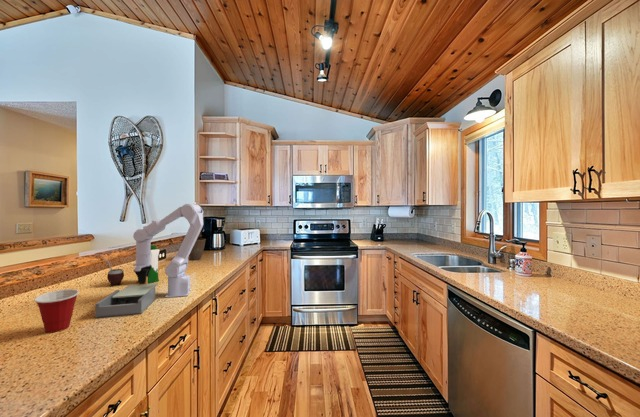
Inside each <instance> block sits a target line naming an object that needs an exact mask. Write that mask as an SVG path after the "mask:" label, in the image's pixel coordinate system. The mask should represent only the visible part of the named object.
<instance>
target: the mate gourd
mask: <svg viewBox="0 0 640 417" xmlns="http://www.w3.org/2000/svg"><path fill="white" fill-rule="evenodd" d="M102 260H103V261H105V262H106V263H107V265H108V266H109V269H110V270H109V271H108V273H107V277H106V278H107V281H108V283H109V285H110V286H109V287H110V288H112V287H115V286H122V281H123V280H124V277H125V274H124V272H125V271H124V270H123V269H122V268H115V269H113V267H112V265H111V264H110V261H109V260H108V259H105V258H102Z"/></svg>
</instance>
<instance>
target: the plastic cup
mask: <svg viewBox="0 0 640 417" xmlns="http://www.w3.org/2000/svg"><path fill="white" fill-rule="evenodd" d="M79 294H80V290H78V289H77V288H76V289H75V288H68V289H67V288H66V289H59V290H54V291H53V290H52V291H48V292H45V293H42V294H39V295H37V296H36V297H35V298H34V302H36V305H37V306H38V309H39V312H40V317H41V322H42V323H43V327H44V331H45V332H46V333H49V334H50V333H57V332H62V331H65V330H66V329H68V328H69V327H70V325H71V320H72V317H73V312H74V307H75V305H76V300H77V297H78V295H79Z"/></svg>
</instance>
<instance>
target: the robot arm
mask: <svg viewBox="0 0 640 417" xmlns="http://www.w3.org/2000/svg"><path fill="white" fill-rule="evenodd" d="M179 218H185V220H187V221H188V223H189V228H188V230H187V232H186V233H185V236H184V238H183V240H182V242H181V244H180V246H179V249H178V250H177V252H176V255H175V256H174V257H173V258H172V259H171V260H170V263H169V264H167V265H166V266H165V268H164V273H165V275H166V276H167V293H166V295H165V296H164V298H174V297H175V298H177V297H187V296H188V295H189V294H190V292H191V275H189V274H187V275H186V271H187V270H188V263H189V260H190V259H189V254H190V252H191V250H192V248H193V246H194V244H195V242H196V240H197V239H199V238H198V237H199V235H200V233H201V231H202V229H203V227H204V210H203V208H202V207H201V206H200V205H199V204H196V203H194V204H191V203H185V204H183V205H182V206H179V207H177V208H176V209H174V210H173V211H172V212H171V213H169V214H168V215H166V216H165V217H164V218H162V219H153V220H151V223H149V224H147V225H144V226H143V227H142V229H141V228H139V229H136V230H135V231H134V232H133V235H132V238H133V239H134V241H135V244H136V245H135V263H133V264H132V266H133V267H134V269H133V272H134V273H135V275H136V277H137V282H138V281H139V283H138V284H145V282H146V277H148V275H149V272H150V270H151V268H152V266H149V265H151V261H150V258H151V245H152V244H151V243H152V240H153V238H154V237H155V236H157V235H158V234H159V233H160V232H163V231H164V230H165V229H166V226H167V225H169V224H171V223H173V222H174V221H177V220H178V219H179ZM147 280H148V278H147Z"/></svg>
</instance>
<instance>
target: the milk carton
mask: <svg viewBox="0 0 640 417" xmlns="http://www.w3.org/2000/svg"><path fill="white" fill-rule="evenodd" d="M159 255H160V249H159V248H157V245H156V244H154V245H153V244H151V258H150V261H151V265H149V266H152V268H151V270H150V272H149V275H148V280H147V284H153V283H158V282H159ZM137 284H139V281H138V280H137Z"/></svg>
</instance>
